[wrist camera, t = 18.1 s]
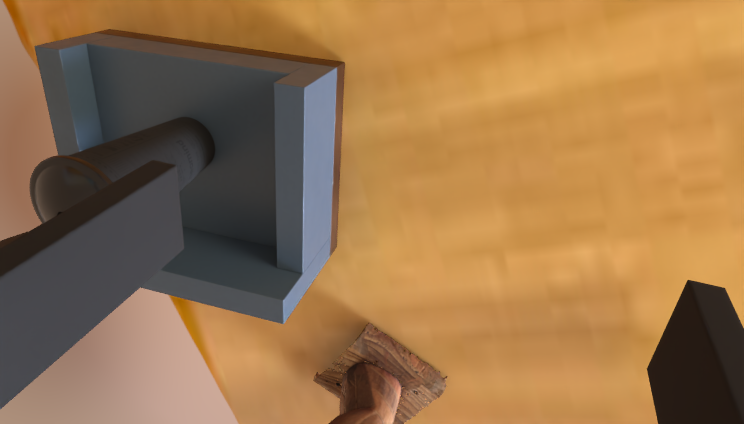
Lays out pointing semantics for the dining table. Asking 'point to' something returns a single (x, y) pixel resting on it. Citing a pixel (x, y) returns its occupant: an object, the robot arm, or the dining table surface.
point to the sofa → (219, 154)
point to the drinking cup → (119, 164)
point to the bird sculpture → (380, 381)
